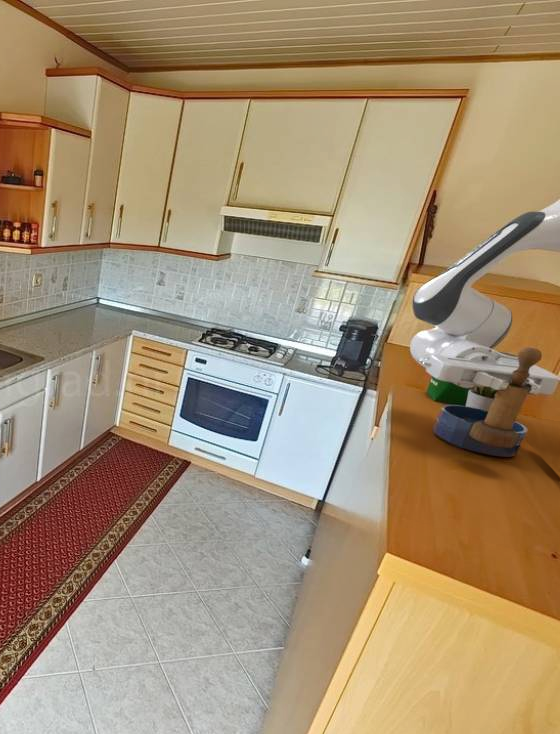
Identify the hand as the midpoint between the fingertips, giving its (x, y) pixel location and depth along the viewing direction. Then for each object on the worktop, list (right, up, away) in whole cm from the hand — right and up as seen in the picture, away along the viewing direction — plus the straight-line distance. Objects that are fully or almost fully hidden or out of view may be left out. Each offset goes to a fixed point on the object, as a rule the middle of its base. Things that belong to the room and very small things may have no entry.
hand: (519, 388), depth 87 cm
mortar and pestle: (-1, -10, +5) cm, 11 cm away
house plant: (+23, -8, +34) cm, 42 cm away
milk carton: (+25, -4, +46) cm, 53 cm away
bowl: (+8, -12, +19) cm, 24 cm away
